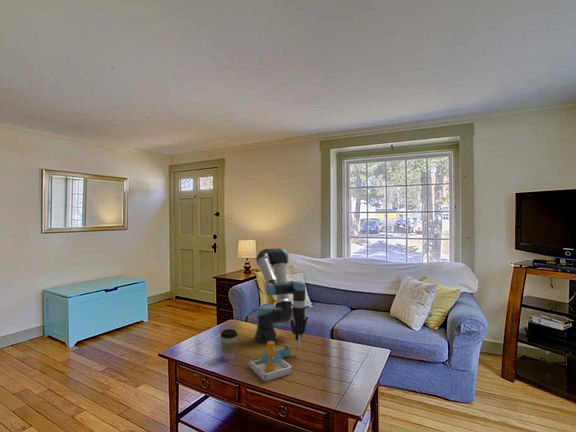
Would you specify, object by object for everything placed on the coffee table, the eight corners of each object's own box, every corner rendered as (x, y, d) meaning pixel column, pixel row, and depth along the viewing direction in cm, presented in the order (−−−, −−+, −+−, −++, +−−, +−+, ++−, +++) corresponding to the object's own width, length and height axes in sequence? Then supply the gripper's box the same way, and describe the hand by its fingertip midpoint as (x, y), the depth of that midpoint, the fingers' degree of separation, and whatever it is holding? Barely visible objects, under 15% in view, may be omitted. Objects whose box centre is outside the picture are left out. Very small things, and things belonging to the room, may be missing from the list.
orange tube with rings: (284, 367, 170) (284, 340, 170) (277, 376, 160) (278, 347, 160) (264, 363, 174) (264, 337, 174) (256, 372, 164) (256, 344, 164)
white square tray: (273, 358, 182) (273, 352, 182) (292, 373, 164) (292, 366, 164) (247, 365, 173) (247, 358, 173) (264, 381, 155) (264, 375, 155)
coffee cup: (233, 361, 176) (233, 335, 177) (217, 359, 178) (217, 334, 179) (239, 354, 186) (239, 329, 186) (224, 352, 188) (224, 328, 188)
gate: (288, 354, 187) (289, 344, 187) (290, 355, 185) (290, 345, 185) (262, 361, 177) (263, 350, 177) (264, 362, 176) (264, 352, 176)
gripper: (303, 303, 196) (303, 341, 196) (286, 306, 189) (286, 345, 189) (311, 306, 190) (310, 345, 189) (293, 309, 183) (292, 349, 182)
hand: (298, 345), depth 189 cm, fingers closed
